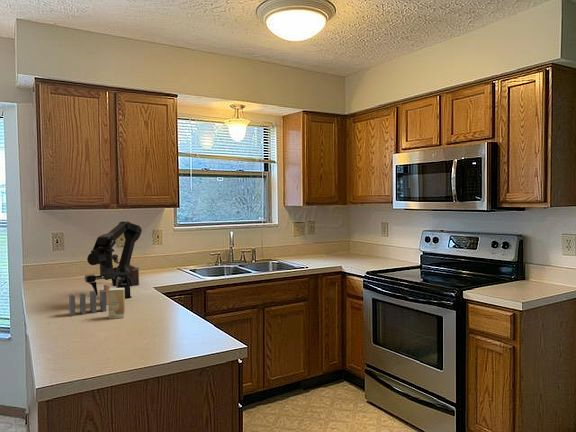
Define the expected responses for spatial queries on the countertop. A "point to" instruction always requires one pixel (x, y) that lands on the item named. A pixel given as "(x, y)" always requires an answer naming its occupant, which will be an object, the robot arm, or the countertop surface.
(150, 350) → the countertop surface
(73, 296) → the domino
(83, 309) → the domino
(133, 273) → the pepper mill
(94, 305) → the domino
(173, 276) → the countertop surface
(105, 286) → the domino
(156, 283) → the countertop surface
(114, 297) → the skincare box
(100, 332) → the countertop surface
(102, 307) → the domino
